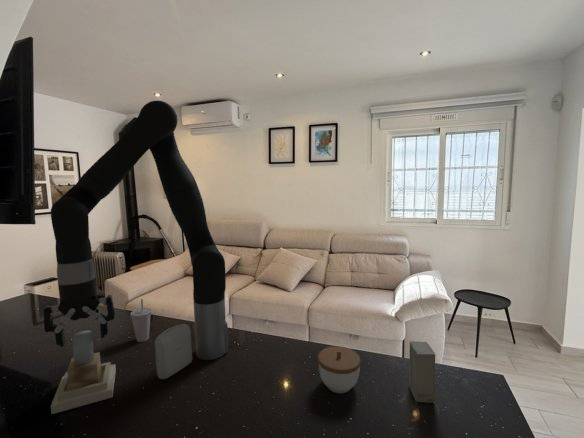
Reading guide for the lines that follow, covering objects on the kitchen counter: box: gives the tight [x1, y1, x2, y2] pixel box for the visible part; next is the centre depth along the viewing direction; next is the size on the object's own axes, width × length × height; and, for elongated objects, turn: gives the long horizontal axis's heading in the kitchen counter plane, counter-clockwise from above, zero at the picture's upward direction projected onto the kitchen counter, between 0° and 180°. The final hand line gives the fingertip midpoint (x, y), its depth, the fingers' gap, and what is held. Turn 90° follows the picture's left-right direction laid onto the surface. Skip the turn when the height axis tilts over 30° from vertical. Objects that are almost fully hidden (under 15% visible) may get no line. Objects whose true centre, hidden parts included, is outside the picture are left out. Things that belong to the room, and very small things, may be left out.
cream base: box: [50, 361, 117, 415], centre depth 76 cm, size 12×12×4 cm
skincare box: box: [408, 340, 436, 404], centre depth 74 cm, size 6×4×12 cm
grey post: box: [71, 330, 95, 365], centre depth 75 cm, size 4×4×7 cm
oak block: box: [66, 351, 102, 390], centre depth 76 cm, size 6×6×6 cm
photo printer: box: [154, 323, 193, 380], centre depth 84 cm, size 10×4×12 cm, turn 149°
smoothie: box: [130, 298, 153, 343], centre depth 101 cm, size 6×6×14 cm
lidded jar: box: [317, 346, 361, 394], centre depth 77 cm, size 11×11×9 cm
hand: (83, 340), depth 76 cm, fingers open, 8 cm apart
